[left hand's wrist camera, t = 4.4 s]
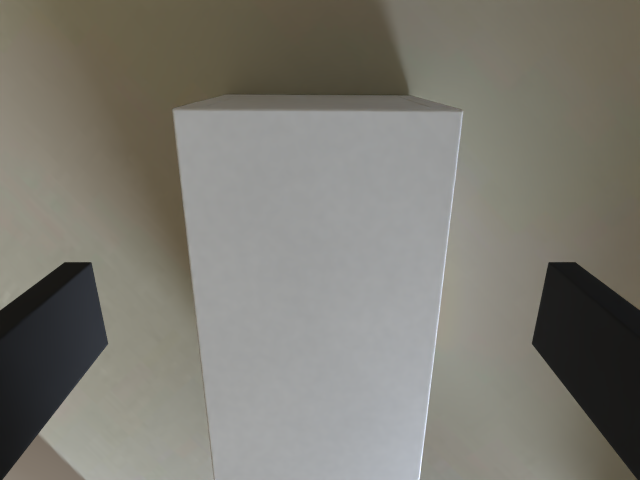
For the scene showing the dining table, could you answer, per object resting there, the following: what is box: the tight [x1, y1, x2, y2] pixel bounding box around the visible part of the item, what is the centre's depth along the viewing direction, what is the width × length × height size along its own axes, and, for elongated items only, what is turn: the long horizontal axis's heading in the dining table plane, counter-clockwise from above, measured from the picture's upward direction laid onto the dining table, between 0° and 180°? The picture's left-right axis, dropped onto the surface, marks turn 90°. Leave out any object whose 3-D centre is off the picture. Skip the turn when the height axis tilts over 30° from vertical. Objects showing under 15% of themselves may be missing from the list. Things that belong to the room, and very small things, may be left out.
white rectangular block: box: [172, 95, 463, 480], centre depth 26 cm, size 21×12×10 cm, turn 0°
